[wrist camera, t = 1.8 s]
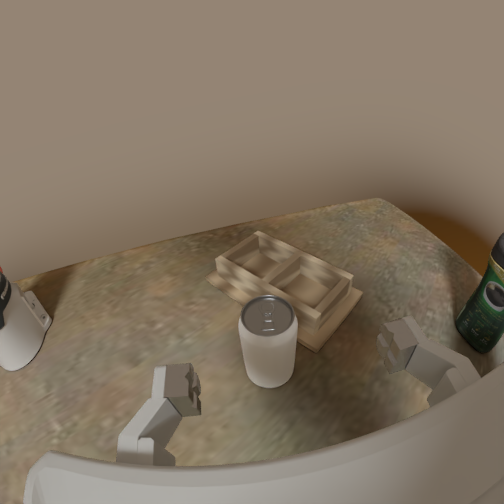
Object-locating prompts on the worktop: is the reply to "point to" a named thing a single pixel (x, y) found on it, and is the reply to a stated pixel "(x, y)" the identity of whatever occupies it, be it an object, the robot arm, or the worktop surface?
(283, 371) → the can
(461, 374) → the robot arm
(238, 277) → the can holder
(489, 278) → the coffee jar
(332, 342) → the worktop surface
